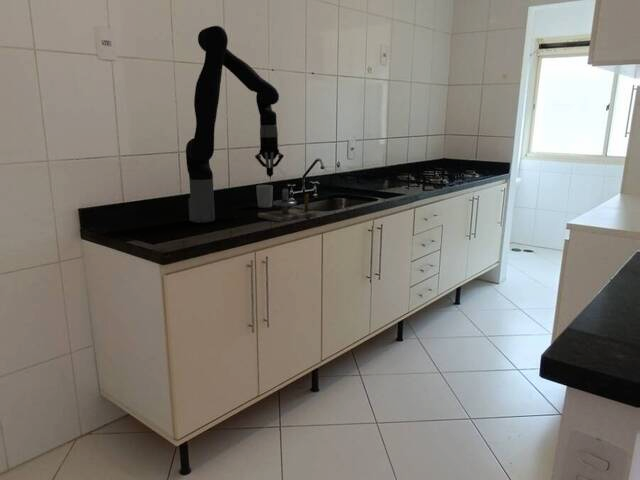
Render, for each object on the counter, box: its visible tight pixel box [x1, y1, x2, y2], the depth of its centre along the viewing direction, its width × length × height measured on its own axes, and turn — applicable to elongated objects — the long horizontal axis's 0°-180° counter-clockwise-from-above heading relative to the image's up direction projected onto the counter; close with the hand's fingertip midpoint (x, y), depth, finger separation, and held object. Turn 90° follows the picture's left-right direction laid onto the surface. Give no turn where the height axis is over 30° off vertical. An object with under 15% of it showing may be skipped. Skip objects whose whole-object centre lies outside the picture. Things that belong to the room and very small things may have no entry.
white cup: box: [255, 184, 274, 209], centre depth 237 cm, size 8×8×10 cm
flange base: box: [257, 193, 317, 222], centre depth 211 cm, size 20×15×9 cm
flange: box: [272, 188, 298, 207], centre depth 213 cm, size 18×10×5 cm, turn 3°
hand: (270, 176), depth 217 cm, fingers closed
